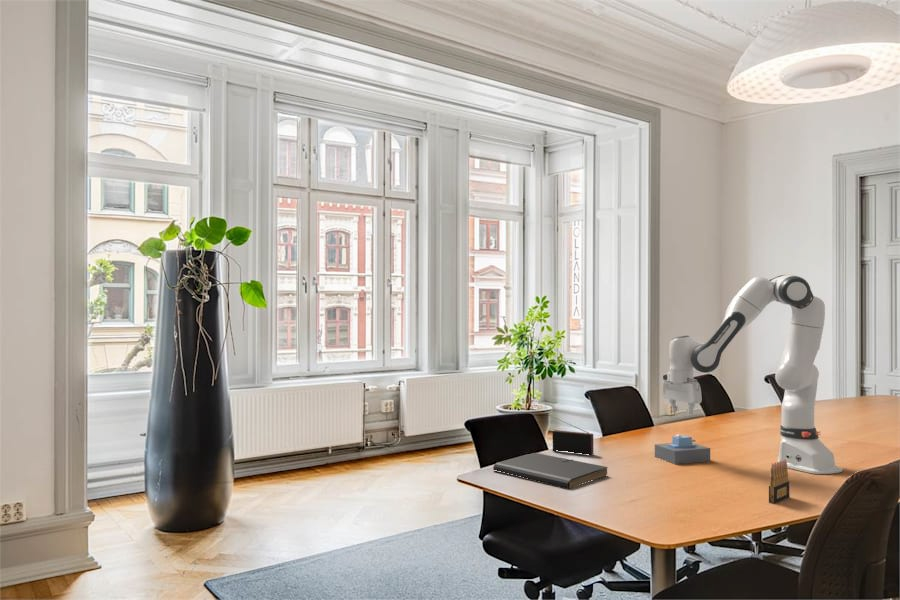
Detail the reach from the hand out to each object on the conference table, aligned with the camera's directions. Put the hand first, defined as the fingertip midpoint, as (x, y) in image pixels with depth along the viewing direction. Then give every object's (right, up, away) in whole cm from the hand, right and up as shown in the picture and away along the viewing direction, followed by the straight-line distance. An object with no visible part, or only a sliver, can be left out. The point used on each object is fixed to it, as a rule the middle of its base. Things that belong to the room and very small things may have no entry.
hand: (682, 412), depth 261 cm
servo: (0, -18, 0) cm, 18 cm away
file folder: (-55, -19, -22) cm, 62 cm away
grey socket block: (0, -18, 0) cm, 18 cm away
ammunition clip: (+11, -18, -55) cm, 59 cm away
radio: (-42, -19, +12) cm, 47 cm away
